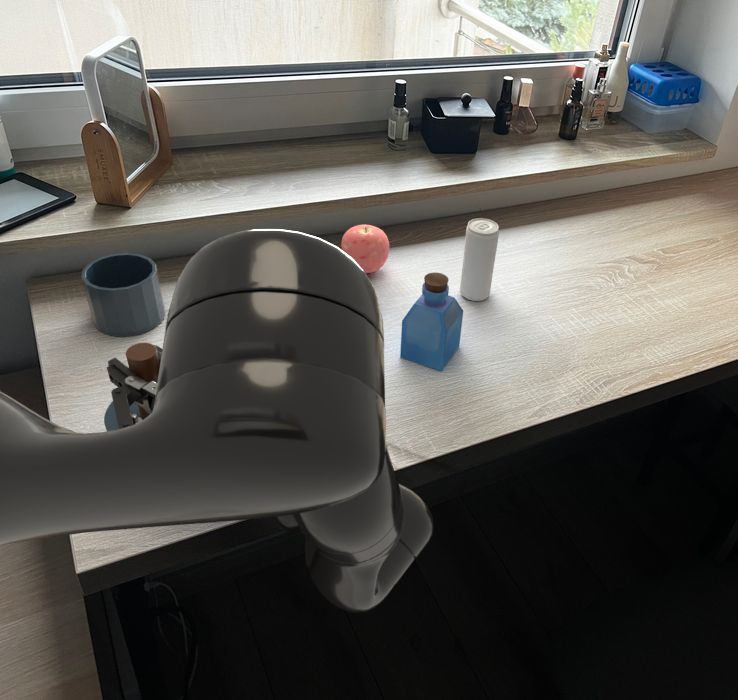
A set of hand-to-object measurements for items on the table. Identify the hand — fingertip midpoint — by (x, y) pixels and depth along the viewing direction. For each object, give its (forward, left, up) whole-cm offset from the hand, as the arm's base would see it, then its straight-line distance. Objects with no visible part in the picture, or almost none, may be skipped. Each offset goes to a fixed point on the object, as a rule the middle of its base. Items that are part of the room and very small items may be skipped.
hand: (128, 358), depth 73 cm
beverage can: (+52, +2, -14) cm, 54 cm away
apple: (+42, +17, -14) cm, 48 cm away
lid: (+1, -3, -6) cm, 7 cm away
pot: (+8, +25, -14) cm, 30 cm away
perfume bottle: (+37, -5, -14) cm, 40 cm away
